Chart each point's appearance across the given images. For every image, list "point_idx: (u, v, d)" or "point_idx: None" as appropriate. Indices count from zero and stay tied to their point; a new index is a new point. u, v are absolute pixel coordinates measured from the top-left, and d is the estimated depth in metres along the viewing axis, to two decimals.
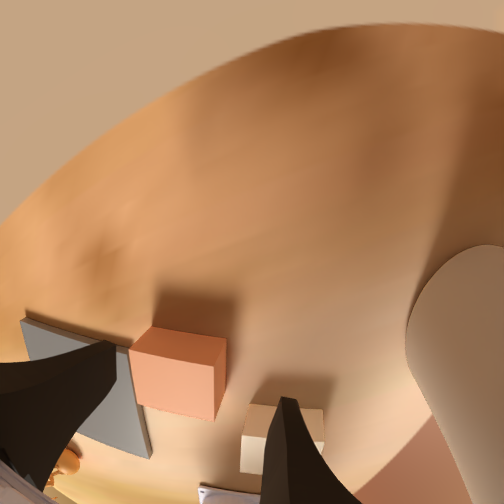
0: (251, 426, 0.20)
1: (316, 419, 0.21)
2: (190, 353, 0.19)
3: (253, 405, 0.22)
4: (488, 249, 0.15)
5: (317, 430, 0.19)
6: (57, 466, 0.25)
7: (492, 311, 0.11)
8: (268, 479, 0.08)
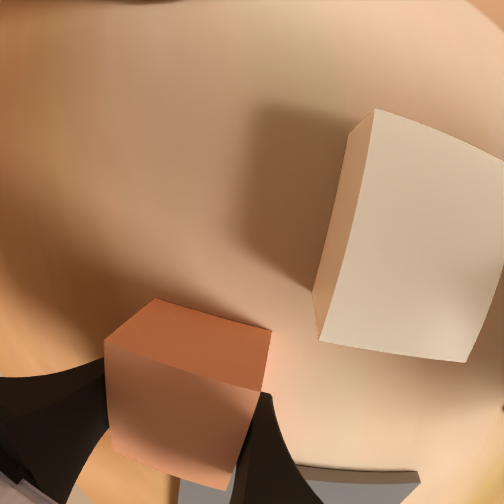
0: (321, 306, 0.08)
1: (352, 143, 0.09)
2: None
3: (314, 285, 0.11)
4: None
5: (361, 135, 0.08)
6: None
7: None
8: (238, 473, 0.08)
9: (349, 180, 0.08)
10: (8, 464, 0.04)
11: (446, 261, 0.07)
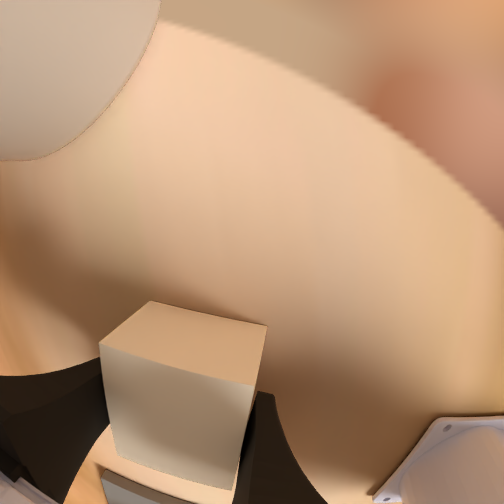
0: None
1: None
2: None
3: None
4: None
5: None
6: None
7: None
8: (241, 473, 0.08)
9: None
10: (6, 462, 0.04)
11: (177, 437, 0.09)
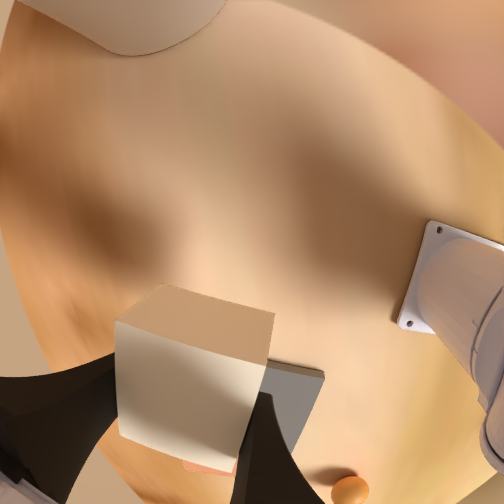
0: None
1: None
2: None
3: None
4: None
5: None
6: None
7: None
8: (239, 473, 0.08)
9: None
10: (8, 464, 0.04)
11: (185, 416, 0.09)
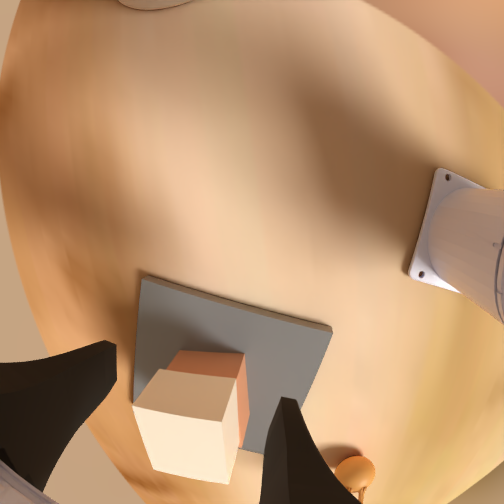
0: None
1: None
2: None
3: None
4: None
5: None
6: (348, 489, 0.20)
7: None
8: (268, 479, 0.08)
9: None
10: None
11: (187, 453, 0.14)
